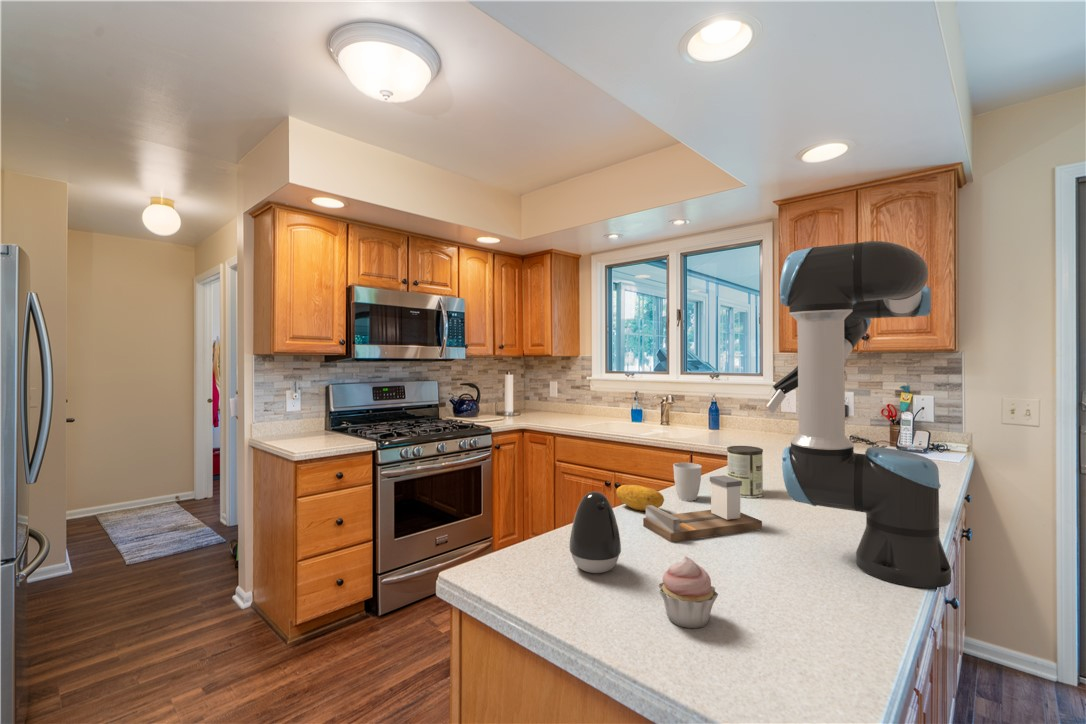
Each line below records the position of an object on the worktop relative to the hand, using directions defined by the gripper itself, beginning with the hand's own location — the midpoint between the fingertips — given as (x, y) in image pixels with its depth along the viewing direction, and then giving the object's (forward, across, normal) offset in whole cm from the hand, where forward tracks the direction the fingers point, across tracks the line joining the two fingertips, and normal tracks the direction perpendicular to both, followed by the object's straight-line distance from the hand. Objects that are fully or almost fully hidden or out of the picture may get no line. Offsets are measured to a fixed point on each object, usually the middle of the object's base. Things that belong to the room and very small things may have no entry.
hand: (789, 412), depth 134 cm
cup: (+30, +23, -9) cm, 39 cm away
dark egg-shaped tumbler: (+64, -12, +25) cm, 70 cm away
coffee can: (+16, +21, -23) cm, 35 cm away
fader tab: (+33, 0, -3) cm, 33 cm away
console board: (+39, 0, 0) cm, 39 cm away
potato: (+44, +19, +4) cm, 48 cm away
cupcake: (+61, -35, +22) cm, 74 cm away
